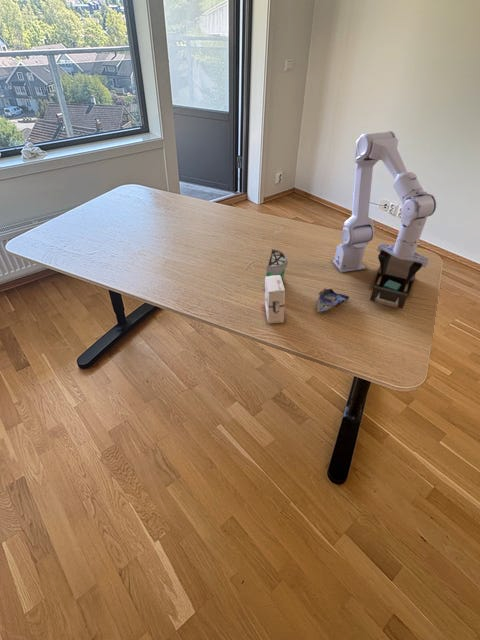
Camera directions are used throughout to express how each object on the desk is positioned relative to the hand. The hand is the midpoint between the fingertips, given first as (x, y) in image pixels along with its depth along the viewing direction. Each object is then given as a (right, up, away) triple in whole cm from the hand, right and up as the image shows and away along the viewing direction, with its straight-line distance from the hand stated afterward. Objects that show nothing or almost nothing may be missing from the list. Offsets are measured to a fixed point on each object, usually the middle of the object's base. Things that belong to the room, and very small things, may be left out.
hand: (394, 278), depth 107 cm
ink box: (-38, -11, 0) cm, 39 cm away
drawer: (0, -6, +5) cm, 7 cm away
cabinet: (+5, 0, +12) cm, 13 cm away
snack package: (-19, -8, +4) cm, 21 cm away
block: (0, -5, +4) cm, 6 cm away
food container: (-35, 0, +13) cm, 37 cm away
